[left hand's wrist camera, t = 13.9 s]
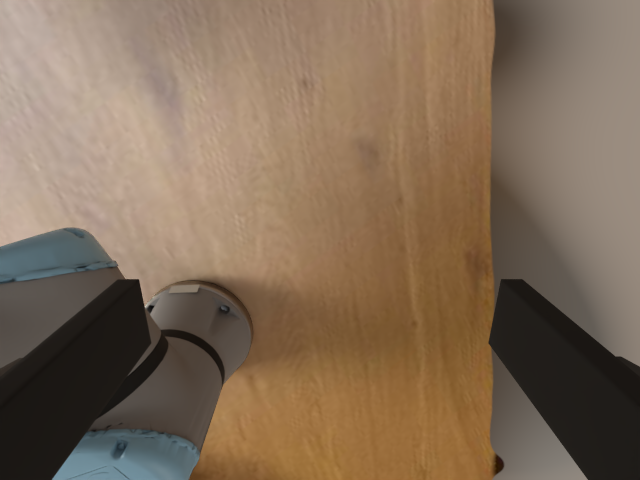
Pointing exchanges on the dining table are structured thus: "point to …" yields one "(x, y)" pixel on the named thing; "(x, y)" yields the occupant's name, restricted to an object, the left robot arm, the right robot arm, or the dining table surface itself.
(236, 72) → the dining table surface
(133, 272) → the dining table surface
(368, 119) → the dining table surface
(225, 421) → the dining table surface
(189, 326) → the left robot arm
